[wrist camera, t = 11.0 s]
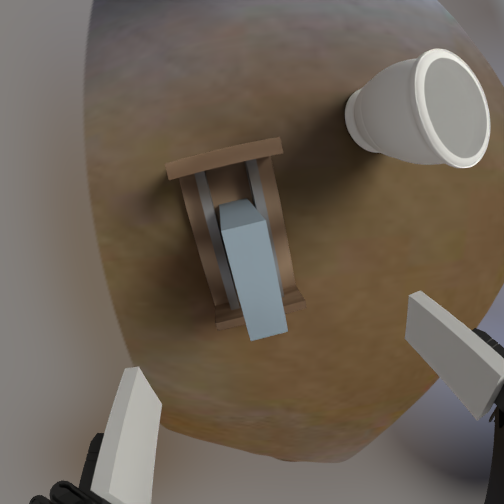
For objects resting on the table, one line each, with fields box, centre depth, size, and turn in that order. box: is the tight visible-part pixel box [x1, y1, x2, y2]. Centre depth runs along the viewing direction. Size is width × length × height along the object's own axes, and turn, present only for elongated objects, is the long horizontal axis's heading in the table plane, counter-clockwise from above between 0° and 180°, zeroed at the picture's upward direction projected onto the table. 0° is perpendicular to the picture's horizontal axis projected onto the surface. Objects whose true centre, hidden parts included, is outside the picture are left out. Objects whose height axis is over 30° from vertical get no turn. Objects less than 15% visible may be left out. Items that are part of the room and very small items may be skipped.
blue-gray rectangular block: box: [219, 198, 288, 341], centre depth 26 cm, size 9×3×12 cm, turn 12°
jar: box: [345, 49, 490, 168], centre depth 22 cm, size 11×10×15 cm
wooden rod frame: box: [165, 137, 306, 331], centre depth 29 cm, size 18×10×7 cm, turn 12°
